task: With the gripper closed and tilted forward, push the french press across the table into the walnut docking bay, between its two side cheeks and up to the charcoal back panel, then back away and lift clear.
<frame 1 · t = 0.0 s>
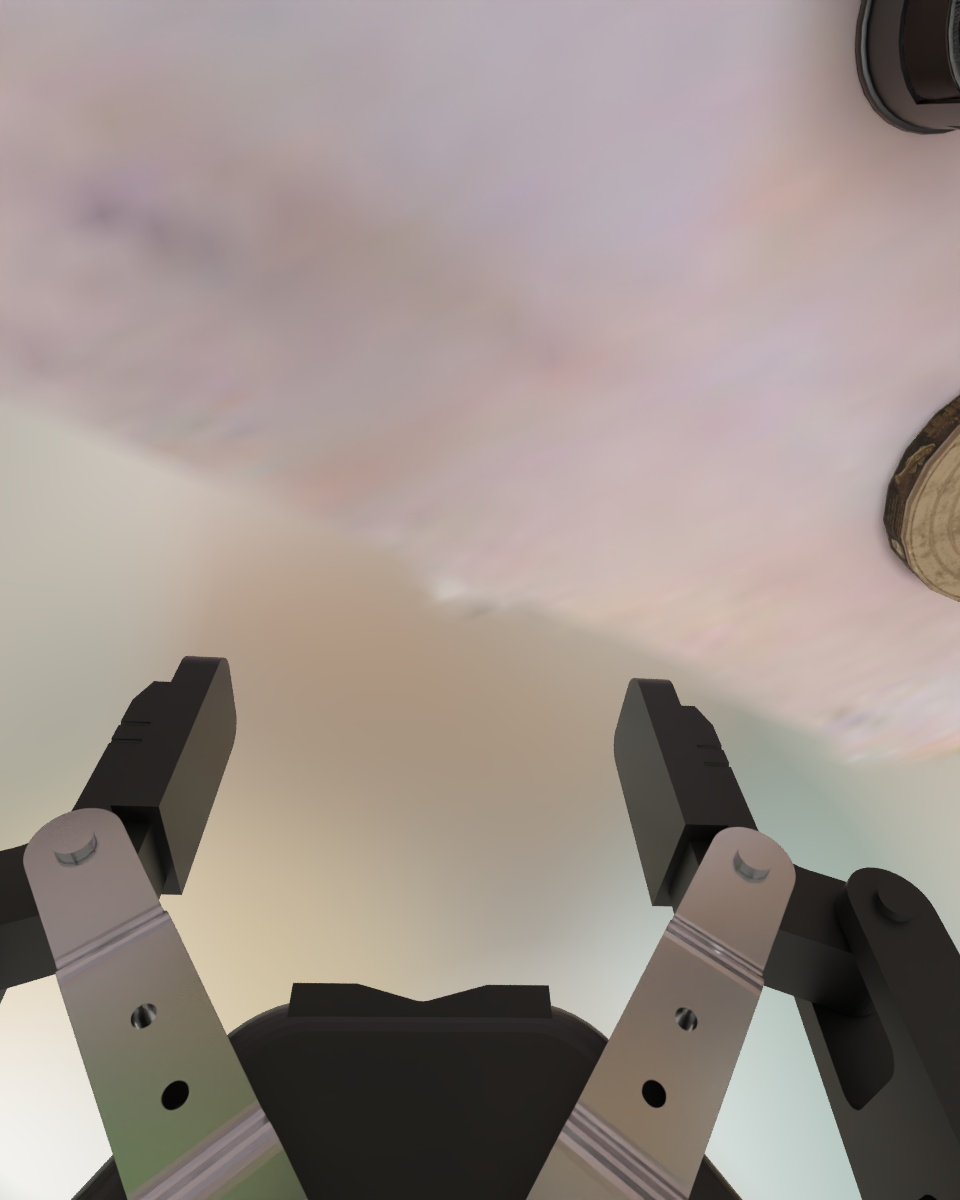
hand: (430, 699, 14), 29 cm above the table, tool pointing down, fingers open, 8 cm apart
french press: (952, 1, 31), on the table
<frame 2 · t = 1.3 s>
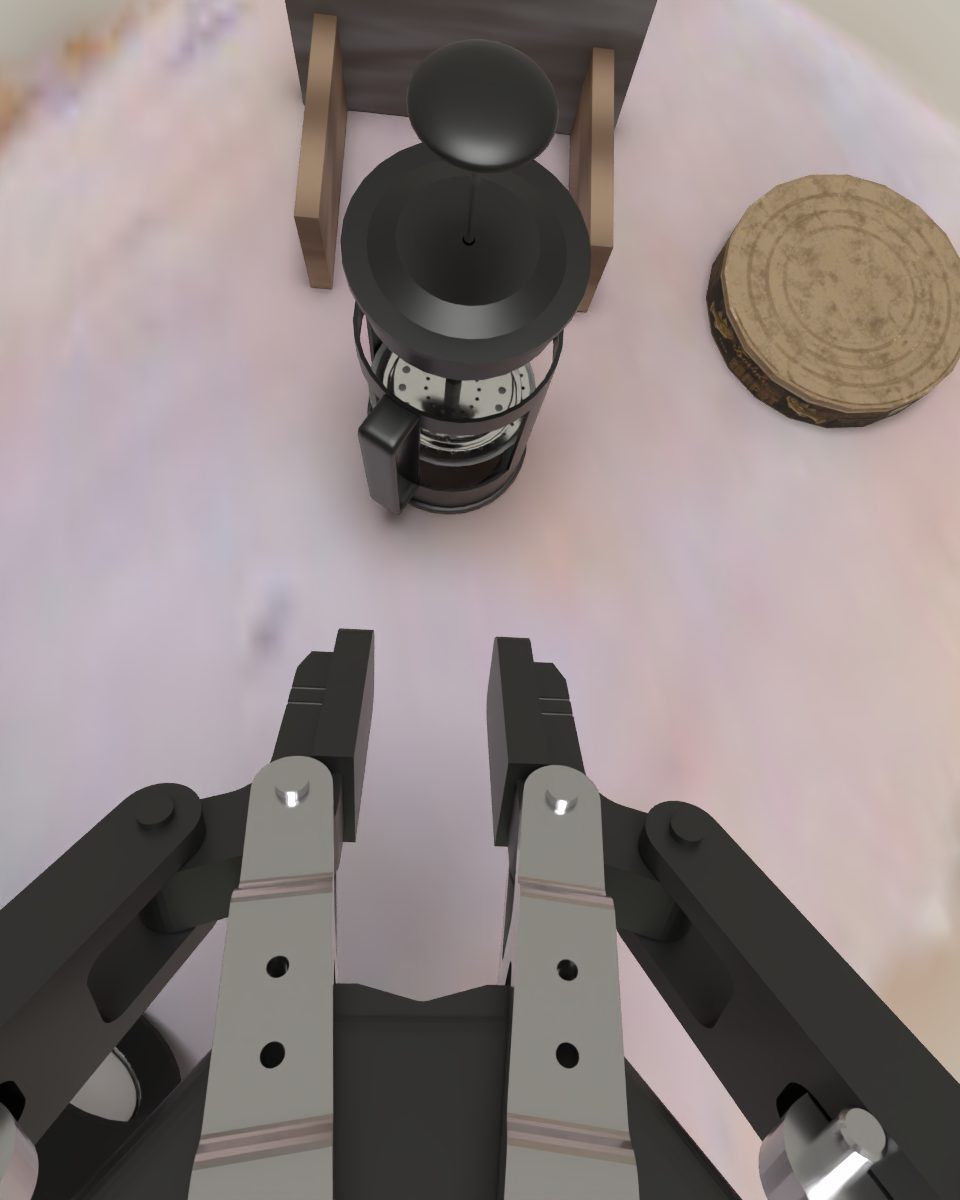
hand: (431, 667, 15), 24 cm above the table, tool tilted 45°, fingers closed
brown flat round piece: (820, 317, 46), on the table
french press: (442, 446, 41), on the table
docking bay: (454, 242, 44), on the table
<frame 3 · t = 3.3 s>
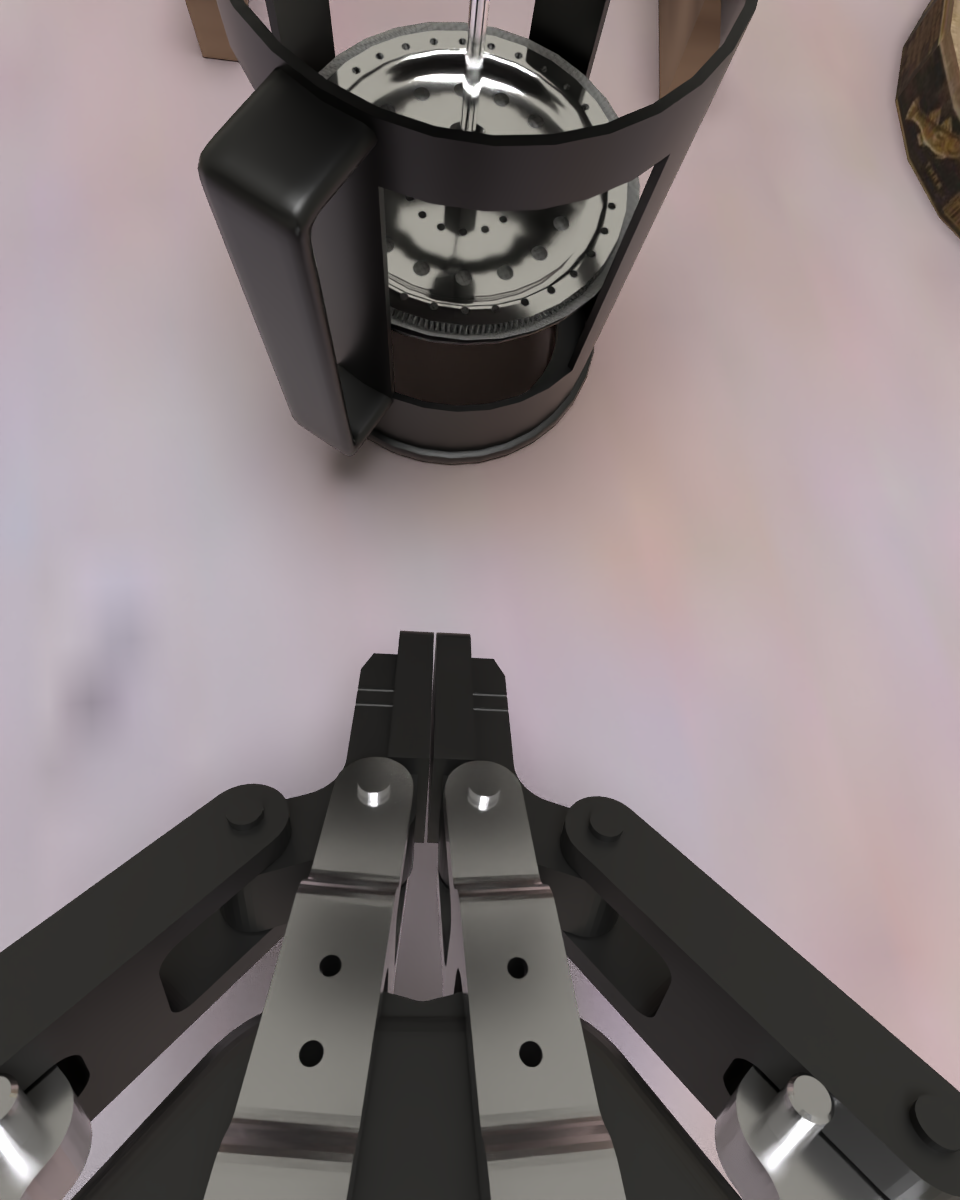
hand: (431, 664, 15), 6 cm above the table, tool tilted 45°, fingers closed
french press: (440, 342, 23), on the table
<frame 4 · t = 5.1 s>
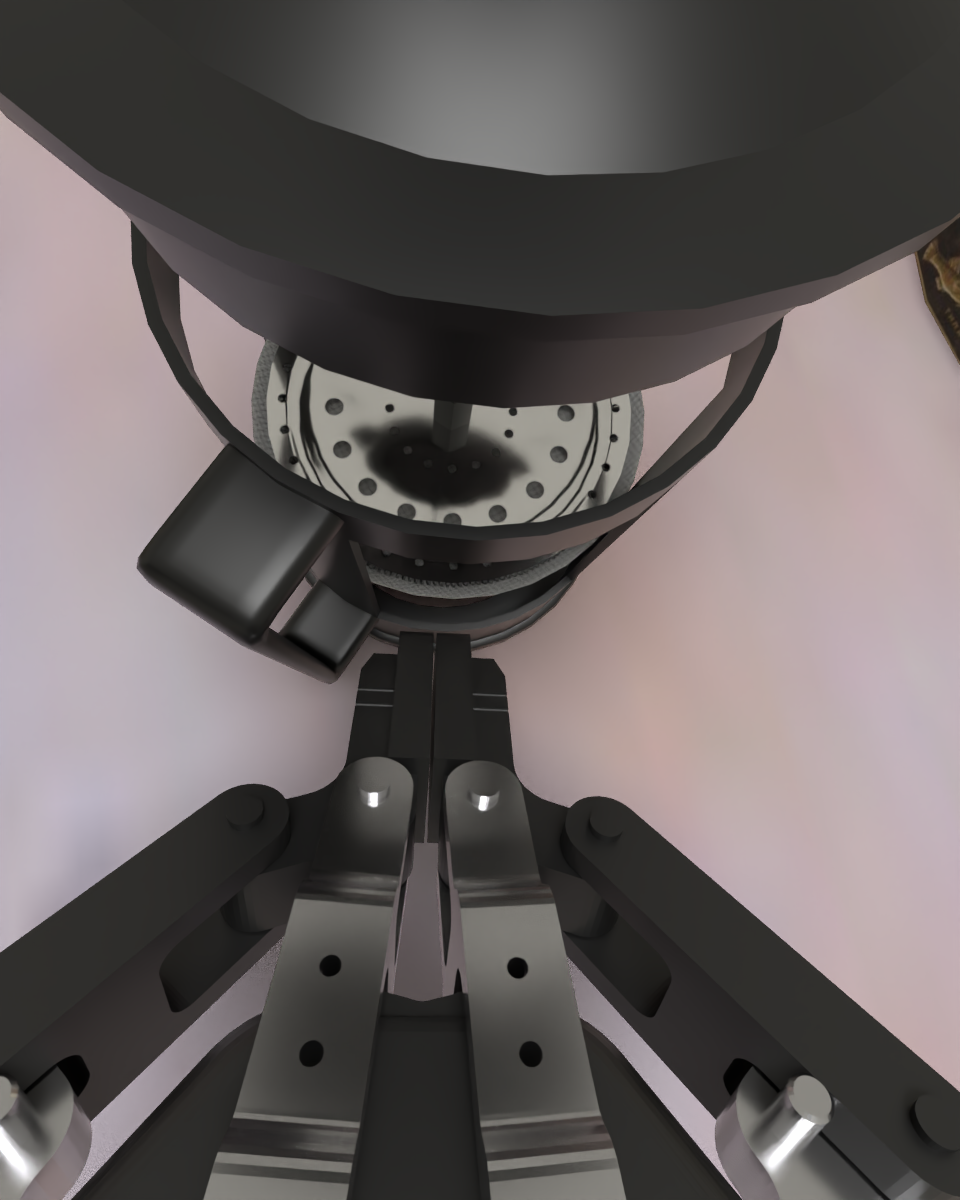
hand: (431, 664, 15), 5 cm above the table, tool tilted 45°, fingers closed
french press: (432, 515, 21), on the table, touching gripper
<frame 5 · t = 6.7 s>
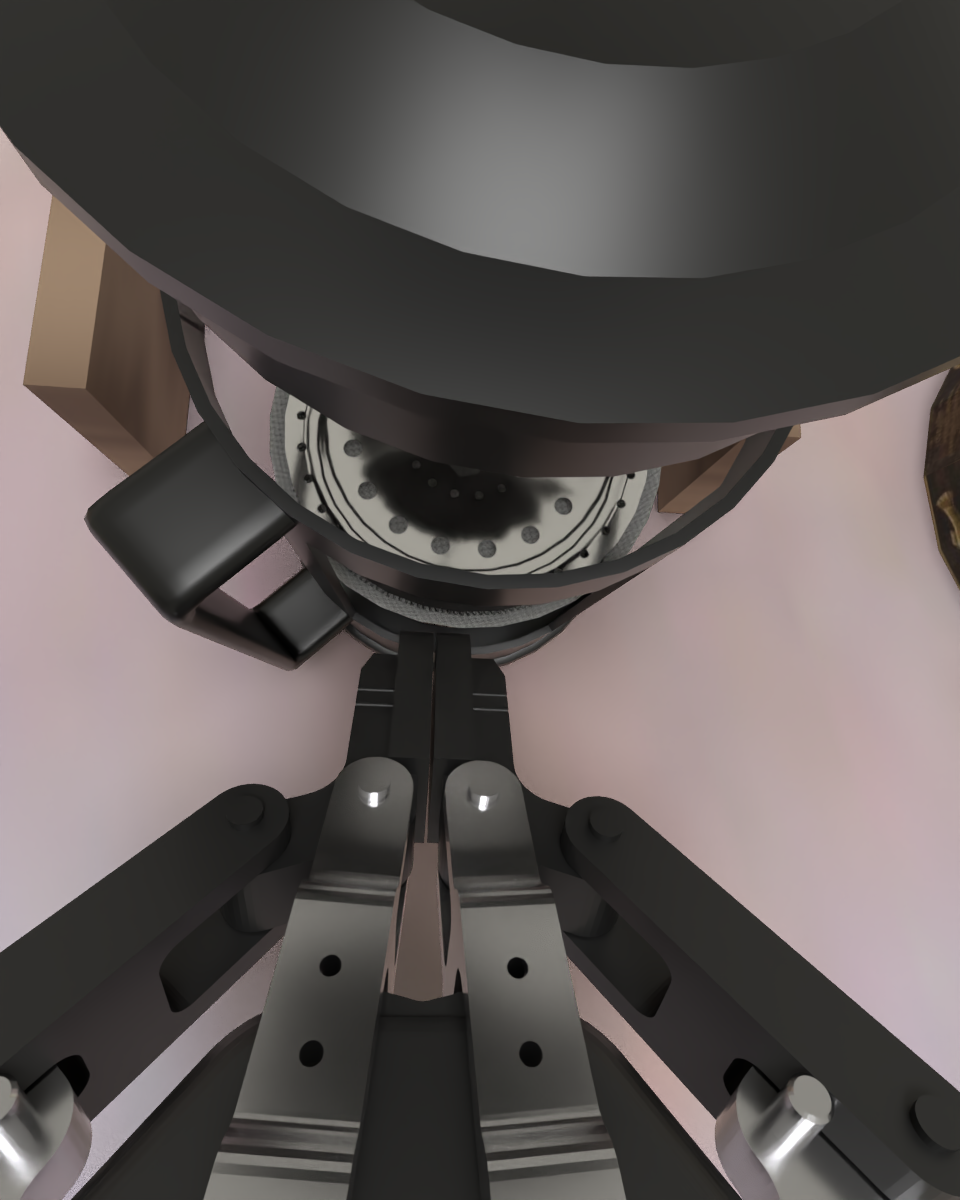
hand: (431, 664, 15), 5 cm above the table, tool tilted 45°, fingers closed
french press: (441, 530, 21), on the table, touching gripper
docking bay: (431, 376, 22), on the table
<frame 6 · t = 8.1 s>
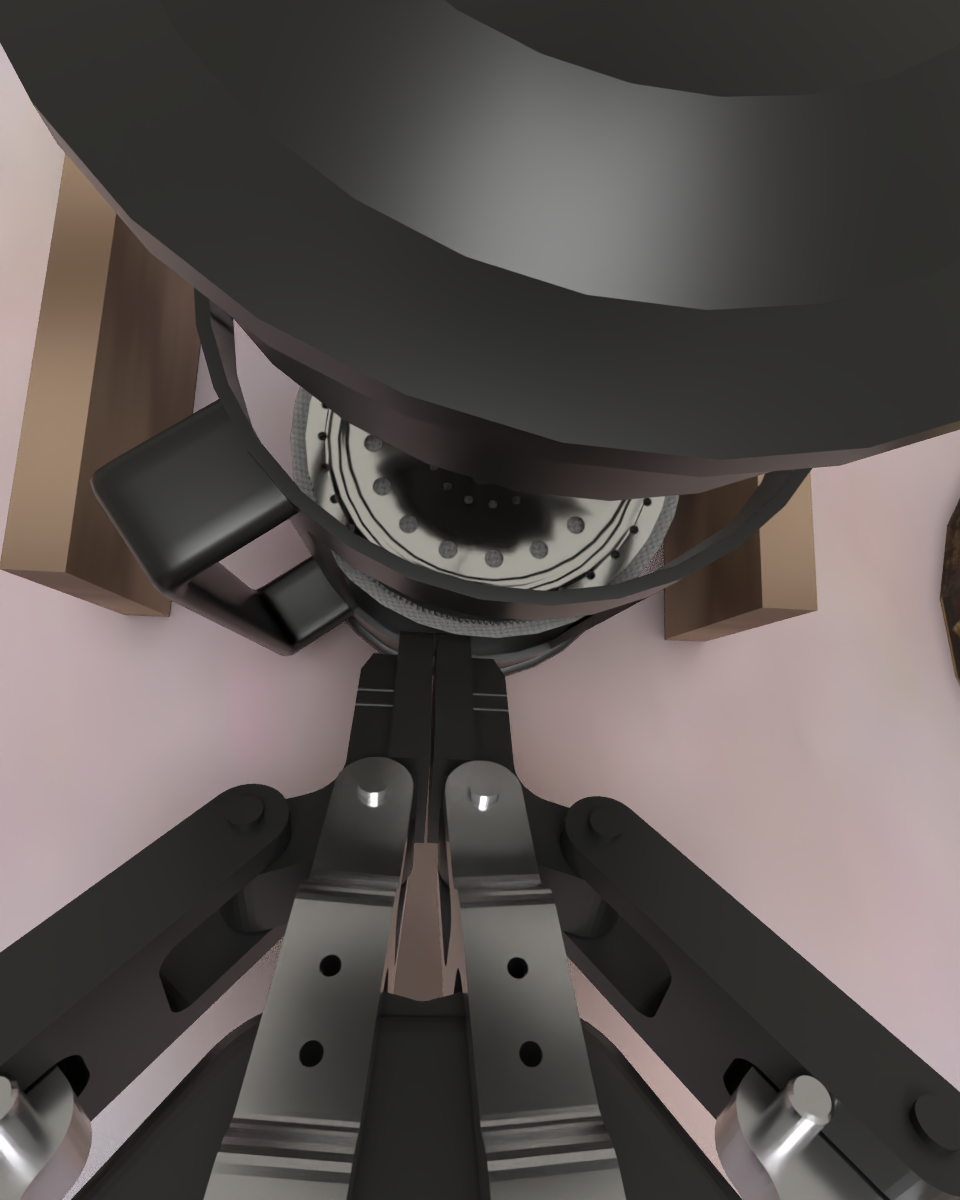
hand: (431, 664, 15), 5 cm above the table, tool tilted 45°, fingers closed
french press: (455, 535, 21), on the table, touching gripper
docking bay: (431, 497, 21), on the table
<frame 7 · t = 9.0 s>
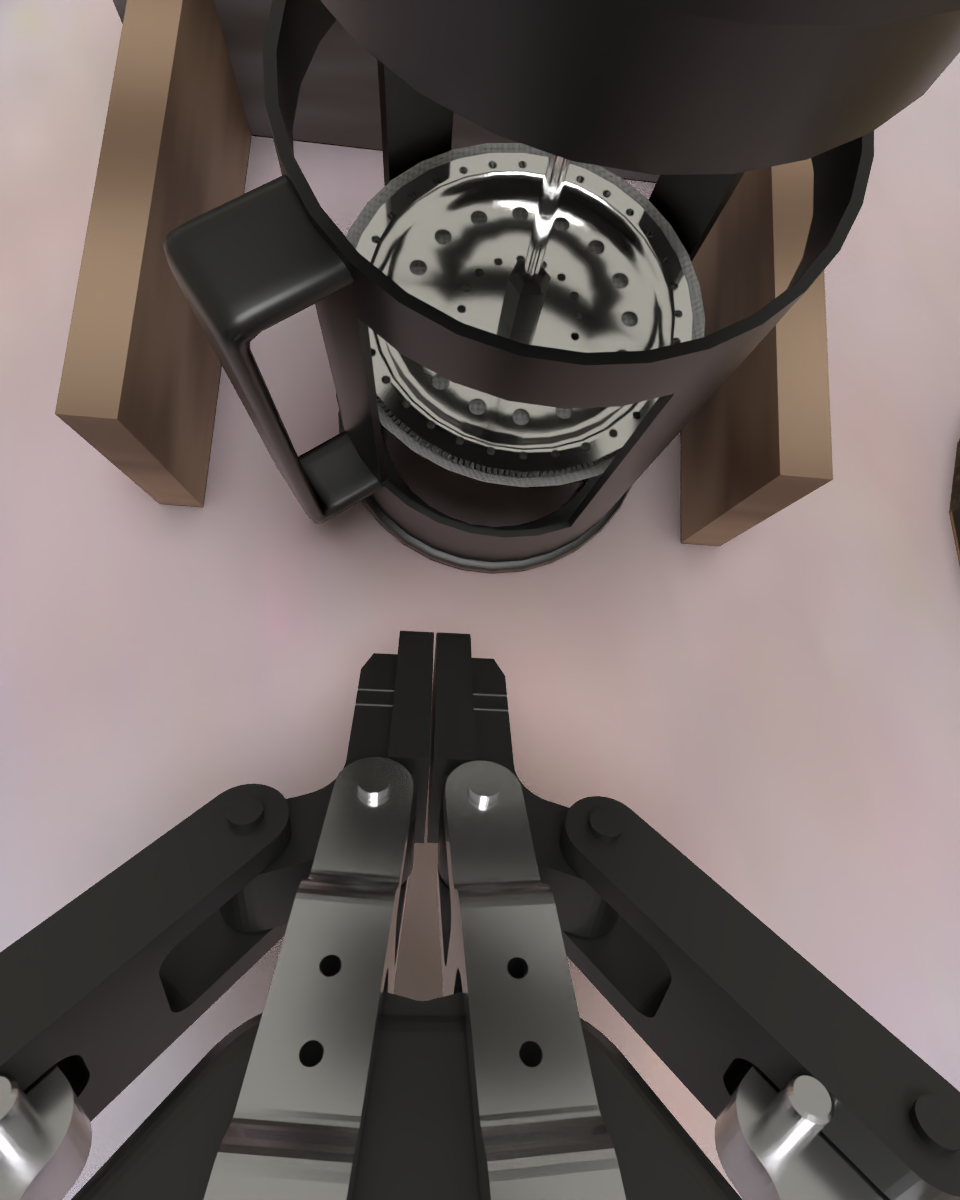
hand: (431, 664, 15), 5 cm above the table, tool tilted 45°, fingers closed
french press: (477, 437, 22), on the table
docking bay: (456, 402, 22), on the table
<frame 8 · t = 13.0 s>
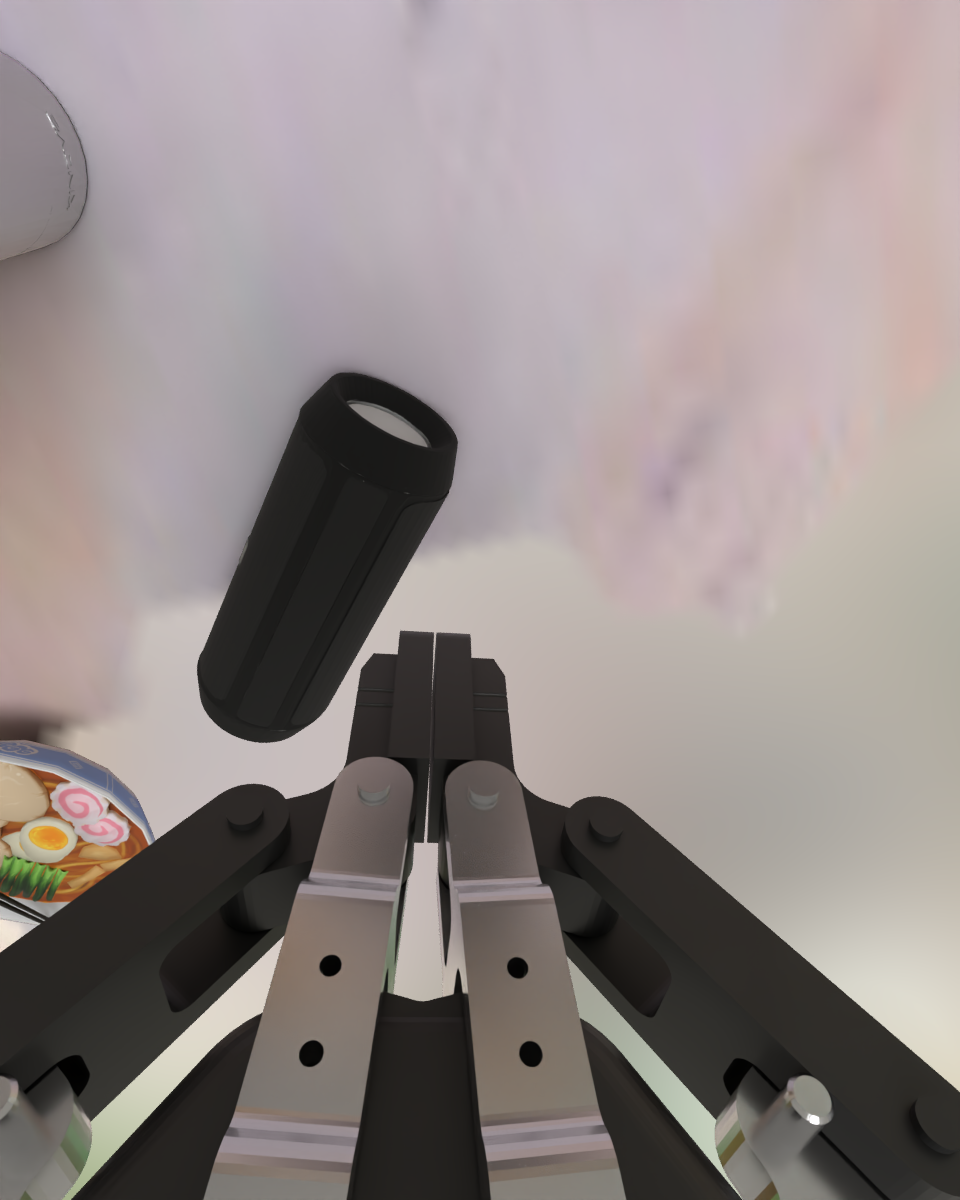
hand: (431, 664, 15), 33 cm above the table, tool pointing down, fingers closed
ramen bowl: (58, 780, 64), on the table
portable speaker: (328, 536, 51), on the table
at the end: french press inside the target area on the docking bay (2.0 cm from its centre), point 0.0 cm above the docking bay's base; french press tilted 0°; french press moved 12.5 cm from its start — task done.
